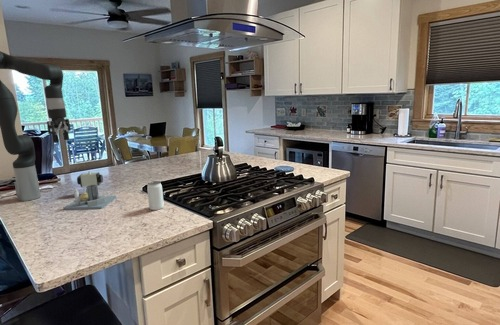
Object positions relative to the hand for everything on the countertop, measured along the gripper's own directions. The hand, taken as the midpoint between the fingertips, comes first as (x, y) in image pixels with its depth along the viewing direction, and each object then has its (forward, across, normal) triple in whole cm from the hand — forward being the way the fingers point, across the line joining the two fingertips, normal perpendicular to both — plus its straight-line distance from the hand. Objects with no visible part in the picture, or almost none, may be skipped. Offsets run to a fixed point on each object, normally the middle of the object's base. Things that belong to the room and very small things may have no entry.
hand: (61, 141), depth 155 cm
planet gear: (+29, +8, +16) cm, 34 cm away
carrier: (+30, +7, +14) cm, 34 cm away
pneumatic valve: (+30, -10, +6) cm, 32 cm away
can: (+30, +16, +49) cm, 60 cm away
